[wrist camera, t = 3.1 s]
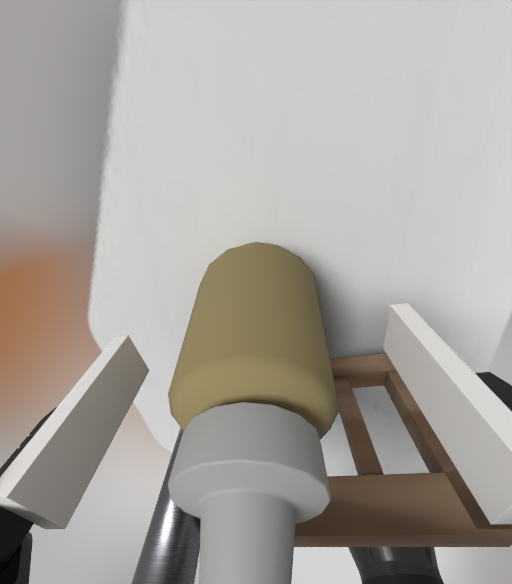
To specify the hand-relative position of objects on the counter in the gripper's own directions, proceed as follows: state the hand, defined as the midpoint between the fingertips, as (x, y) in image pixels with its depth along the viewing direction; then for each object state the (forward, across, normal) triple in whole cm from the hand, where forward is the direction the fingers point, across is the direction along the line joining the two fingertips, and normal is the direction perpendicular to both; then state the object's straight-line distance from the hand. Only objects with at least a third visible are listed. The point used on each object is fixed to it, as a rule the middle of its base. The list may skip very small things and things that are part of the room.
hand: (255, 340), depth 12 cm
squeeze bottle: (+8, 0, 0) cm, 8 cm away
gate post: (+8, +6, +9) cm, 14 cm away
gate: (+6, -3, +9) cm, 12 cm away
